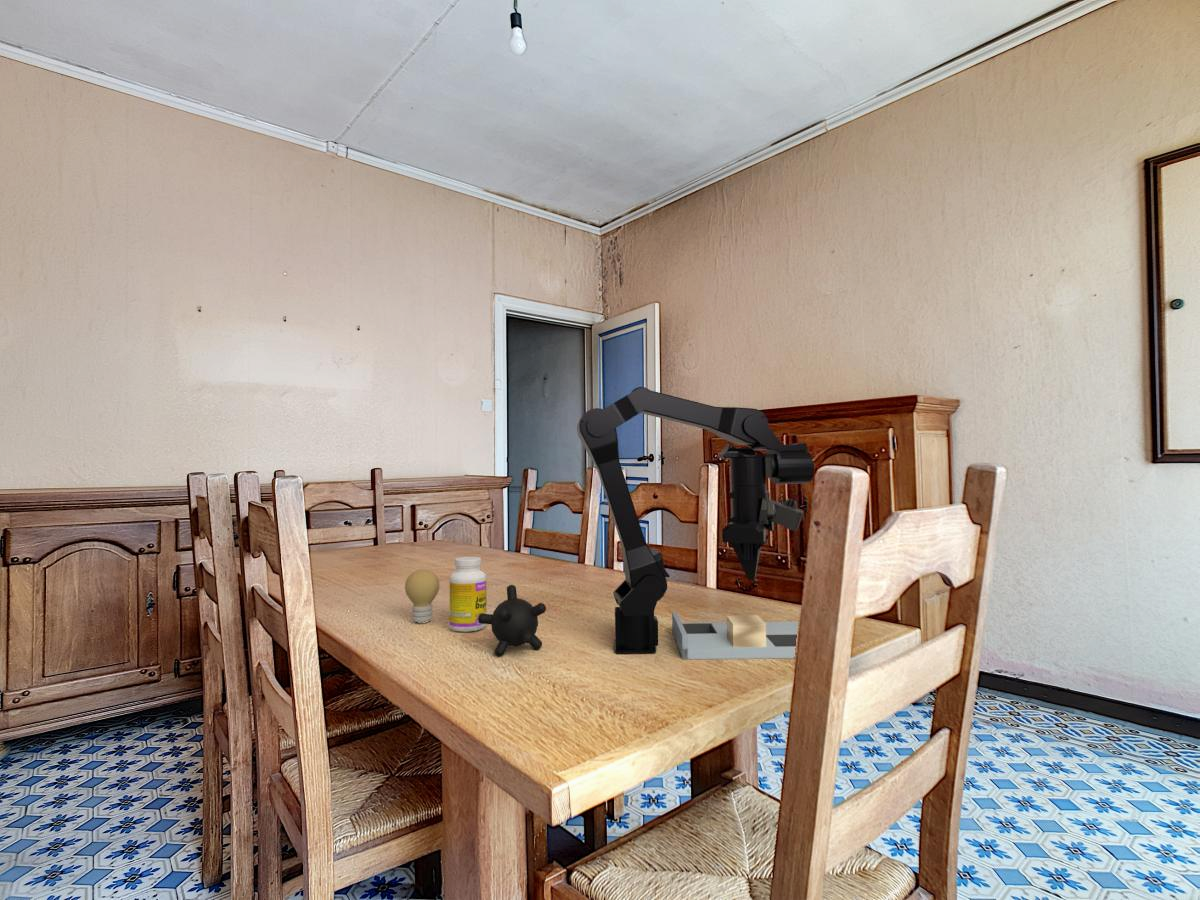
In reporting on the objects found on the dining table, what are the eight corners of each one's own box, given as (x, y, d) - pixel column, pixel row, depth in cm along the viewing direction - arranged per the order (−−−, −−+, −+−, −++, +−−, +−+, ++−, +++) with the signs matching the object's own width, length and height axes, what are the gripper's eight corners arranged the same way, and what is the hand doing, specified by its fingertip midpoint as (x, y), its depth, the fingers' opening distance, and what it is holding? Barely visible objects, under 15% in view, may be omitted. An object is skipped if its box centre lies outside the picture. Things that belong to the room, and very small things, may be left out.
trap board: (682, 659, 92) (682, 635, 92) (672, 632, 107) (671, 611, 107) (835, 657, 92) (834, 633, 92) (803, 630, 107) (802, 609, 107)
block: (733, 646, 92) (732, 623, 92) (726, 637, 97) (726, 615, 97) (766, 646, 92) (765, 623, 92) (758, 637, 97) (757, 615, 97)
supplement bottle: (478, 634, 107) (477, 561, 108) (443, 632, 109) (442, 560, 109) (492, 624, 114) (491, 555, 114) (459, 623, 115) (458, 555, 116)
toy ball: (482, 648, 89) (458, 611, 99) (524, 684, 94) (497, 645, 105) (534, 595, 92) (505, 564, 102) (572, 633, 97) (541, 600, 107)
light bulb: (405, 619, 119) (404, 568, 119) (439, 616, 121) (438, 566, 121) (405, 627, 113) (404, 573, 113) (440, 624, 114) (440, 571, 115)
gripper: (796, 487, 89) (800, 594, 89) (801, 482, 107) (805, 571, 106) (720, 488, 93) (723, 590, 93) (737, 483, 110) (740, 569, 110)
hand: (751, 579), depth 100 cm, fingers closed
